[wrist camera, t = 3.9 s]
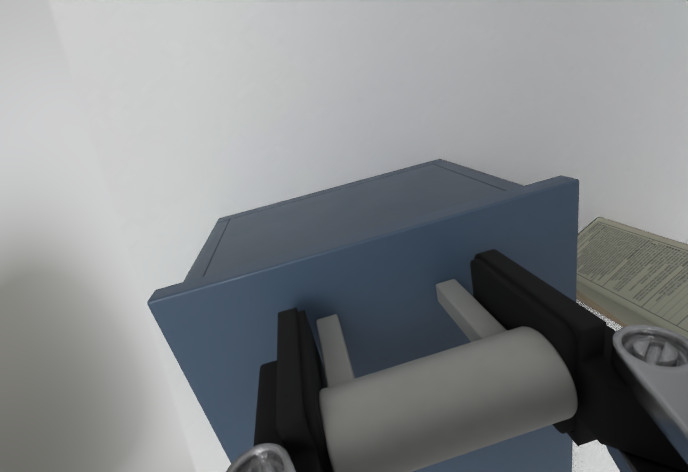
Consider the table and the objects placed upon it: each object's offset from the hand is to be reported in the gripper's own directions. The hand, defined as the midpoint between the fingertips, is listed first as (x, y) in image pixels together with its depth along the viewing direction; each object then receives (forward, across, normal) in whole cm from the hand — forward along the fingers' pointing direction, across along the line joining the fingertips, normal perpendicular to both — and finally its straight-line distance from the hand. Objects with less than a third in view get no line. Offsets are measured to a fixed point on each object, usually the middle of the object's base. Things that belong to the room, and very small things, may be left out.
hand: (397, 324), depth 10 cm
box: (+12, -17, +8) cm, 22 cm away
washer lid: (+2, 0, +6) cm, 6 cm away
